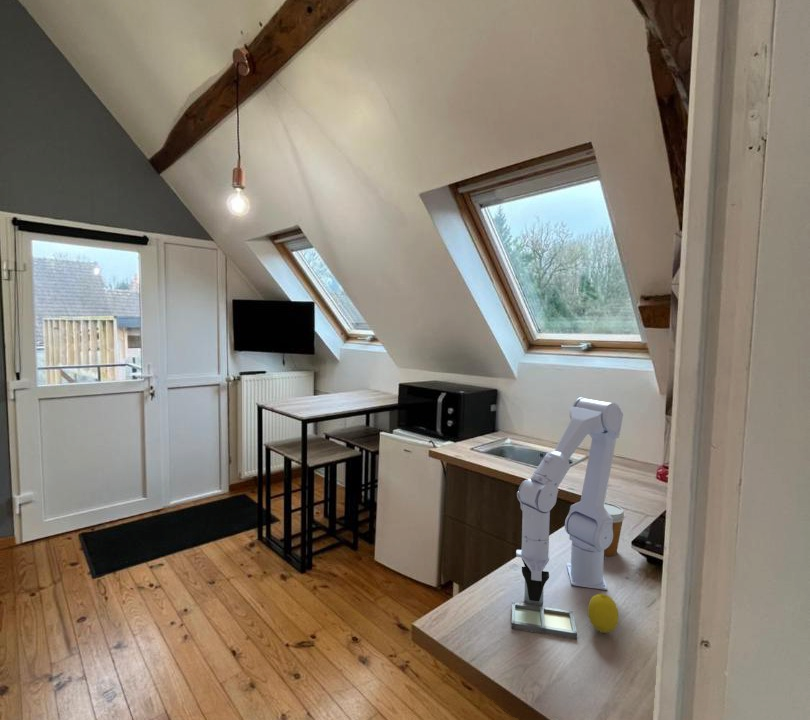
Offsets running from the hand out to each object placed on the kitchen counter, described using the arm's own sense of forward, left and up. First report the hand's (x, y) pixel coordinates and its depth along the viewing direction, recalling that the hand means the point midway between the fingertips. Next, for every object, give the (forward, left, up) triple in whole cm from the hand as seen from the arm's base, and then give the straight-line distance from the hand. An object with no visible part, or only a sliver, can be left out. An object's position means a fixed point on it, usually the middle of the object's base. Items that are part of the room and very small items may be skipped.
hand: (533, 593), depth 97 cm
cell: (0, 0, -2) cm, 2 cm away
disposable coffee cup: (-29, +20, -2) cm, 35 cm away
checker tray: (+6, +2, -2) cm, 7 cm away
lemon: (+7, +13, -2) cm, 15 cm away
